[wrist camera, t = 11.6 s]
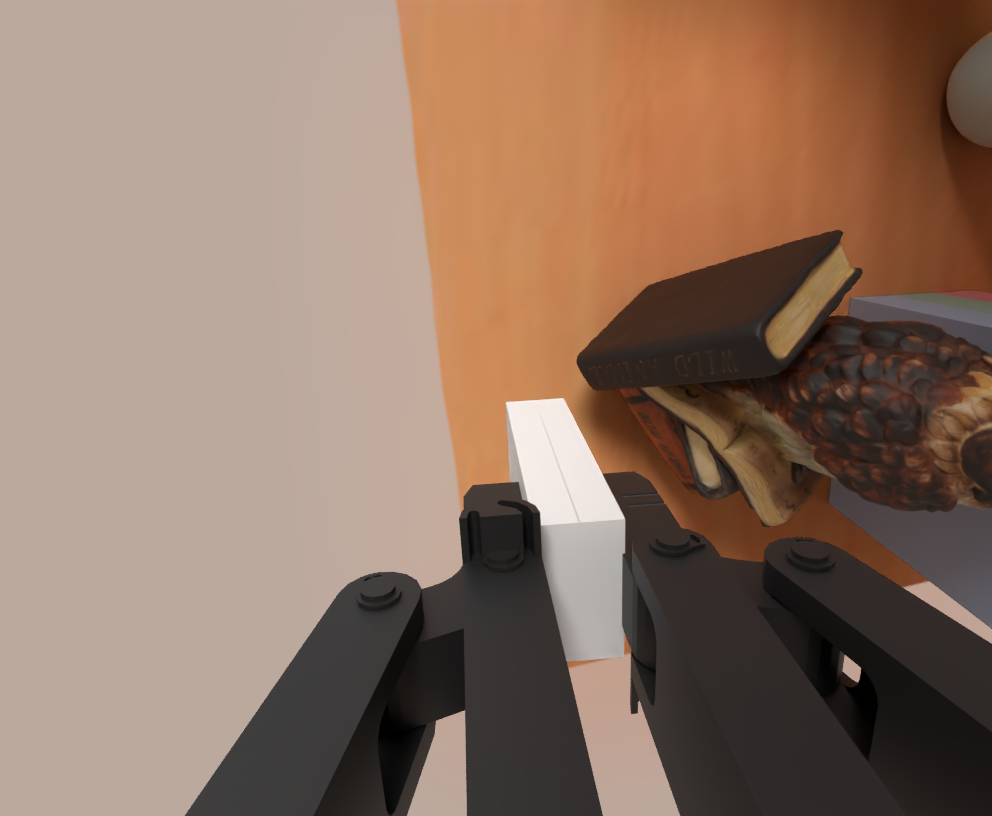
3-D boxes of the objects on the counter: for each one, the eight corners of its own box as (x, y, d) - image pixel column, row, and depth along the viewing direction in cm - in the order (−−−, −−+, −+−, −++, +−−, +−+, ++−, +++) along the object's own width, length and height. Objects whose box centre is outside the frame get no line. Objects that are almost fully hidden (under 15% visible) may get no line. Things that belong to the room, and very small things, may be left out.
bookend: (561, 358, 41) (1039, 278, 19) (662, 270, 45) (1146, 122, 24) (669, 532, 45) (1169, 630, 23) (753, 436, 49) (1241, 441, 27)
